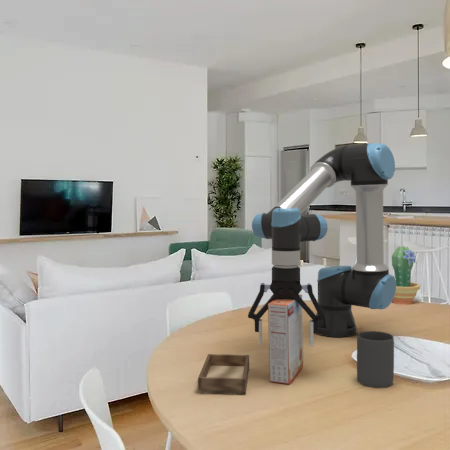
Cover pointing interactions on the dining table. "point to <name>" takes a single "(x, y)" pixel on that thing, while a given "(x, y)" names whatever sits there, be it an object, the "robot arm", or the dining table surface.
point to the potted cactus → (404, 275)
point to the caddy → (224, 374)
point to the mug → (375, 359)
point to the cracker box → (285, 340)
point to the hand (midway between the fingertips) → (285, 344)
